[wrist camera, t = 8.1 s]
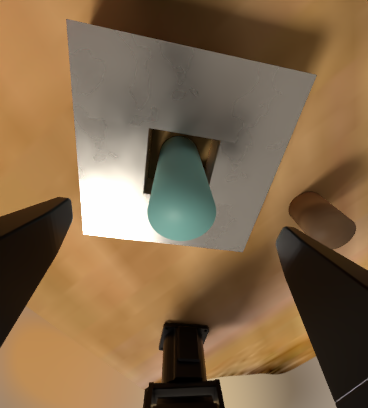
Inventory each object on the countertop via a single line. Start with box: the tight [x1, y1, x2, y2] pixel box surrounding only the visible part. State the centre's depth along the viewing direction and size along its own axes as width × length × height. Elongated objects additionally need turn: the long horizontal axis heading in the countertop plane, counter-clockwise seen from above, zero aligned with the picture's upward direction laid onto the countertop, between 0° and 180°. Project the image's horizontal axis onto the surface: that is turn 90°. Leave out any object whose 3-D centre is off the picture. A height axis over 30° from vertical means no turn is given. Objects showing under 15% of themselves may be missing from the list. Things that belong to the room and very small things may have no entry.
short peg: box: [289, 192, 356, 249], centre depth 19 cm, size 3×3×4 cm
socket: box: [66, 19, 317, 252], centre depth 16 cm, size 14×14×3 cm
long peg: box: [147, 136, 216, 241], centre depth 14 cm, size 3×3×9 cm
